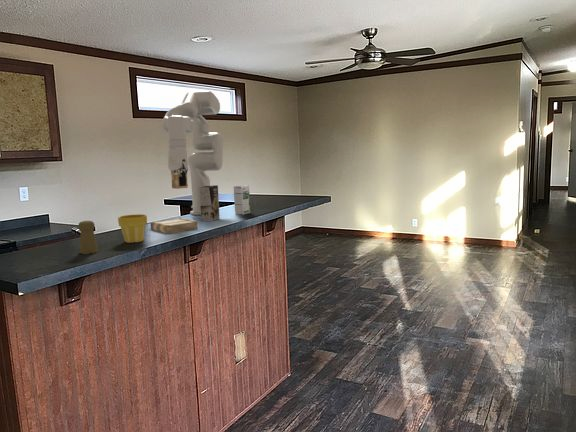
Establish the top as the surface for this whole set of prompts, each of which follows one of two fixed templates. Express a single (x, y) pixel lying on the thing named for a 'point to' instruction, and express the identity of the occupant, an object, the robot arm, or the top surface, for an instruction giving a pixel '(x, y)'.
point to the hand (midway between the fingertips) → (179, 185)
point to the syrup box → (242, 199)
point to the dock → (174, 225)
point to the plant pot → (133, 227)
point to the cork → (87, 237)
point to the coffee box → (209, 203)
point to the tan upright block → (177, 180)
